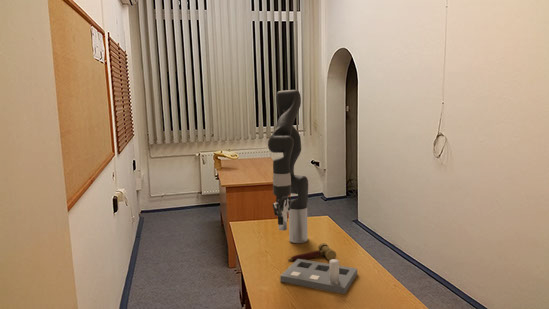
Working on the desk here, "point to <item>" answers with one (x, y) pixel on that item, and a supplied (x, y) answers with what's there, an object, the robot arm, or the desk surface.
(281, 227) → the steel pin
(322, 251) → the gavel
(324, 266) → the pin board
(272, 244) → the desk surface
